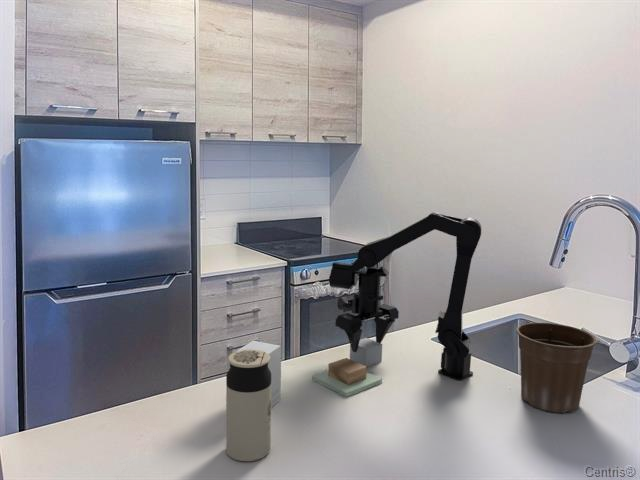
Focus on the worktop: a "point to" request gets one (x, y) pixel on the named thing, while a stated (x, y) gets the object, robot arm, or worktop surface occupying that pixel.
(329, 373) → the walnut block
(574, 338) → the plant pot
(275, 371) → the supplement box
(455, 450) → the worktop surface
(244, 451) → the travel mug
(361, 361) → the slate block
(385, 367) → the worktop surface
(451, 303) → the robot arm
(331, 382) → the baseplate
